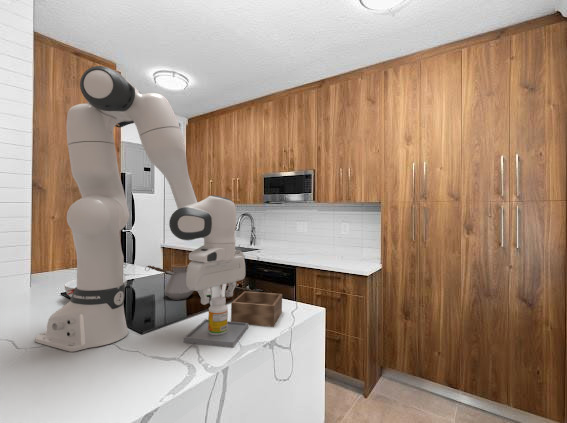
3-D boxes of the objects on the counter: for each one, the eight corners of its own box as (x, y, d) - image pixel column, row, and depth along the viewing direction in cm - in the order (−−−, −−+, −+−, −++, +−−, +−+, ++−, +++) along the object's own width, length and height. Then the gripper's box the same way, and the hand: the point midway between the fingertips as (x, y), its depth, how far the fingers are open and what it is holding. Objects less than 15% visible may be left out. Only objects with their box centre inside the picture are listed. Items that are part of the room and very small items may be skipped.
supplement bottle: (209, 328, 91) (210, 295, 91) (228, 328, 91) (228, 295, 91) (206, 335, 85) (207, 301, 85) (226, 335, 86) (227, 301, 86)
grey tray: (183, 342, 83) (183, 337, 83) (205, 323, 96) (205, 319, 96) (233, 347, 80) (233, 342, 80) (248, 327, 94) (248, 323, 94)
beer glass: (229, 301, 120) (230, 263, 120) (223, 307, 113) (224, 266, 113) (211, 300, 121) (212, 262, 121) (205, 306, 114) (206, 265, 114)
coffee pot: (180, 291, 132) (181, 257, 132) (199, 295, 127) (200, 259, 127) (135, 304, 114) (136, 264, 114) (156, 309, 108) (157, 267, 108)
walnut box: (230, 322, 98) (231, 302, 98) (243, 309, 111) (244, 291, 111) (273, 326, 95) (274, 306, 95) (281, 312, 109) (282, 294, 109)
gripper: (236, 248, 99) (234, 291, 99) (183, 254, 82) (181, 305, 82) (251, 250, 95) (249, 294, 95) (199, 256, 78) (197, 311, 78)
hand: (217, 300), depth 88 cm, fingers open, 8 cm apart
